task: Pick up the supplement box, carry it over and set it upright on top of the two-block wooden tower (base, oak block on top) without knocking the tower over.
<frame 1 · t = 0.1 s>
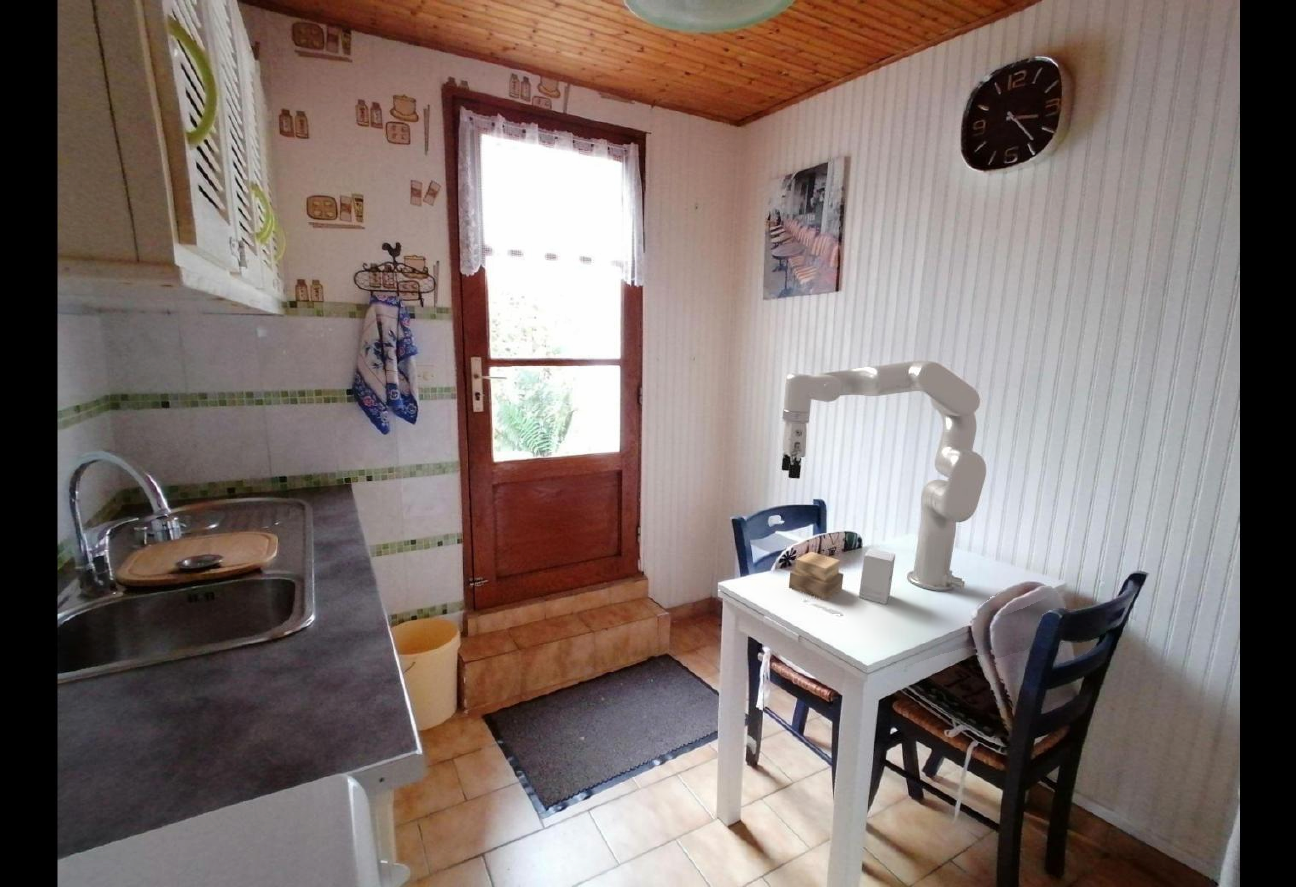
hand: (790, 474, 165), 31 cm above the table, tool pointing down, fingers open, 9 cm apart
tower top: (816, 572, 161), point 5 cm above the table, touching tower base
butter knife: (800, 601, 154), on the table
supplement box: (874, 597, 158), on the table
tower base: (815, 589, 161), on the table, touching tower top
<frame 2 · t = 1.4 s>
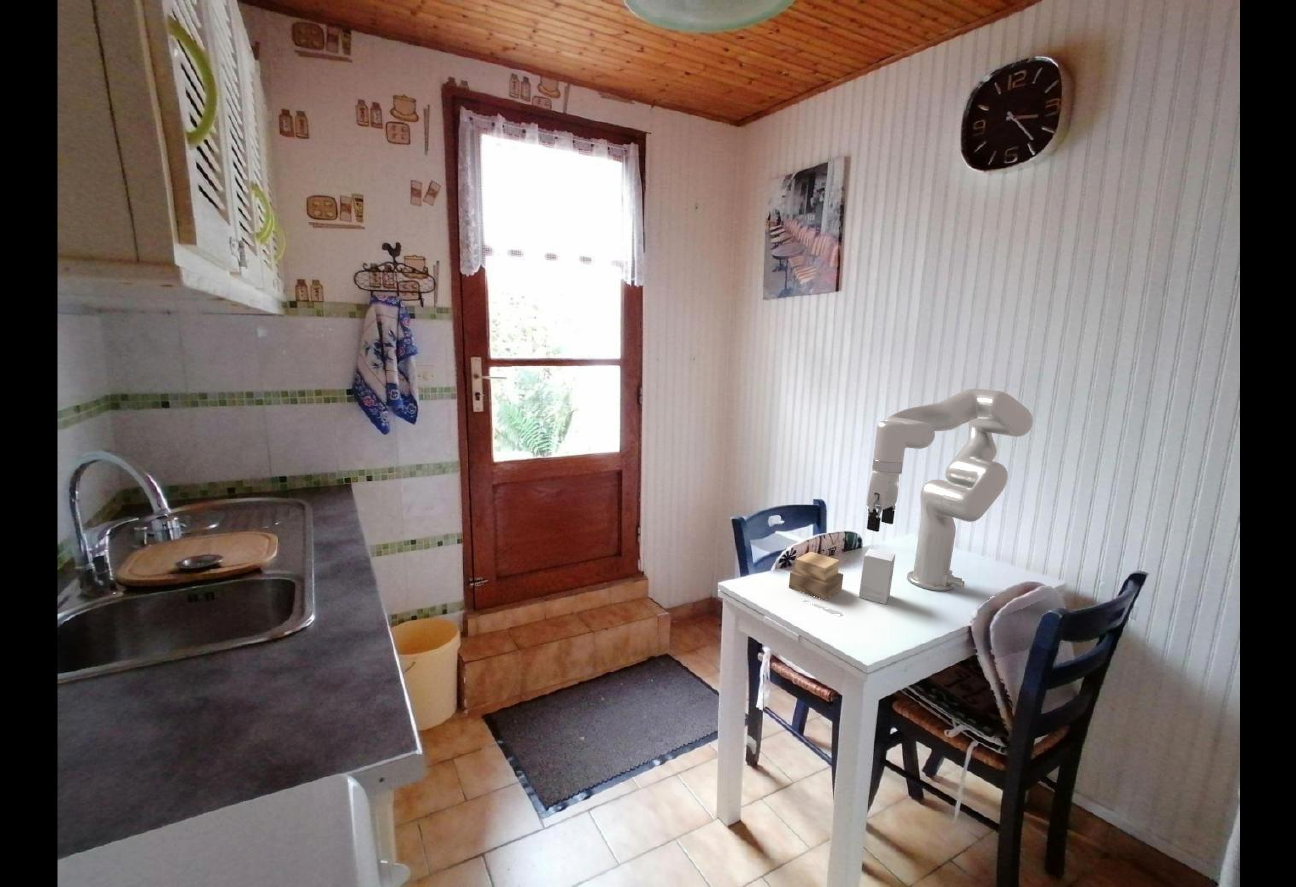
hand: (880, 526, 155), 20 cm above the table, tool pointing down, fingers open, 9 cm apart
tower top: (816, 572, 161), point 5 cm above the table
tower base: (815, 589, 161), on the table
everything else where it was.
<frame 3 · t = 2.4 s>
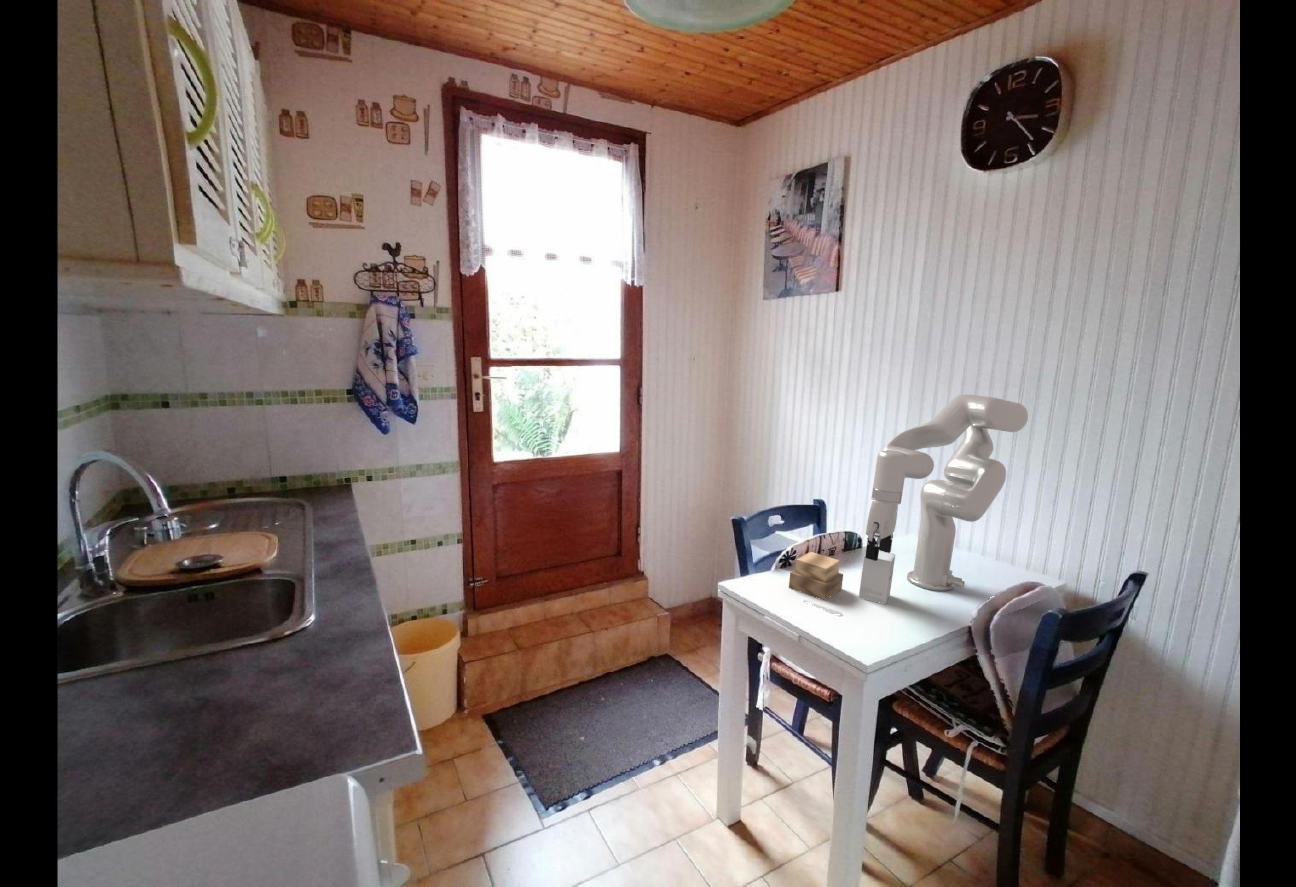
hand: (877, 555, 155), 12 cm above the table, tool pointing down, fingers open, 9 cm apart
tower top: (816, 573, 161), point 5 cm above the table, touching tower base
supplement box: (874, 597, 158), on the table, touching gripper
tower base: (815, 589, 161), on the table, touching tower top
everything else where it was.
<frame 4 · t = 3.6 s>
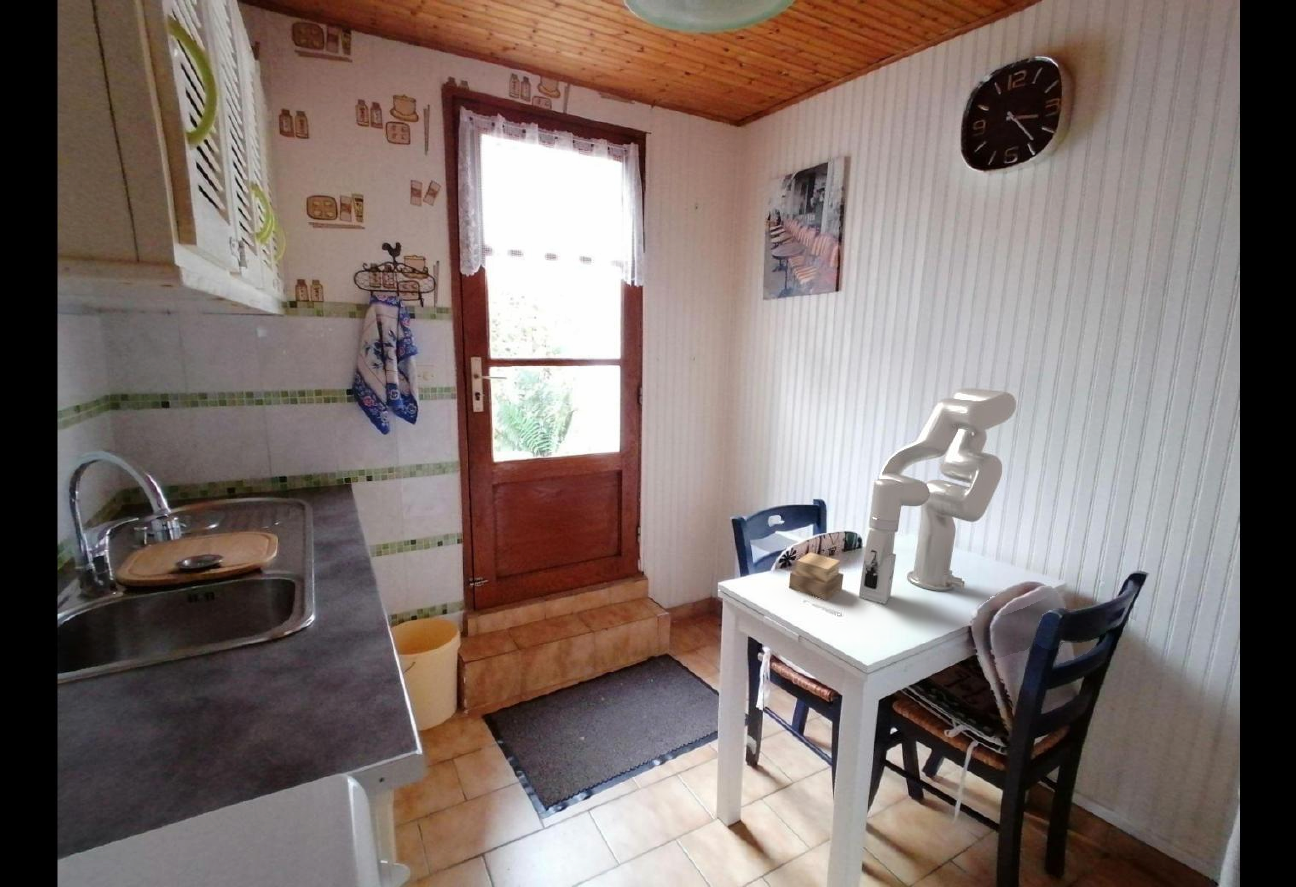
hand: (875, 582, 157), 4 cm above the table, tool pointing down, fingers closed on supplement box, 7 cm apart
supplement box: (874, 597, 158), on the table, touching gripper
everything else where it was.
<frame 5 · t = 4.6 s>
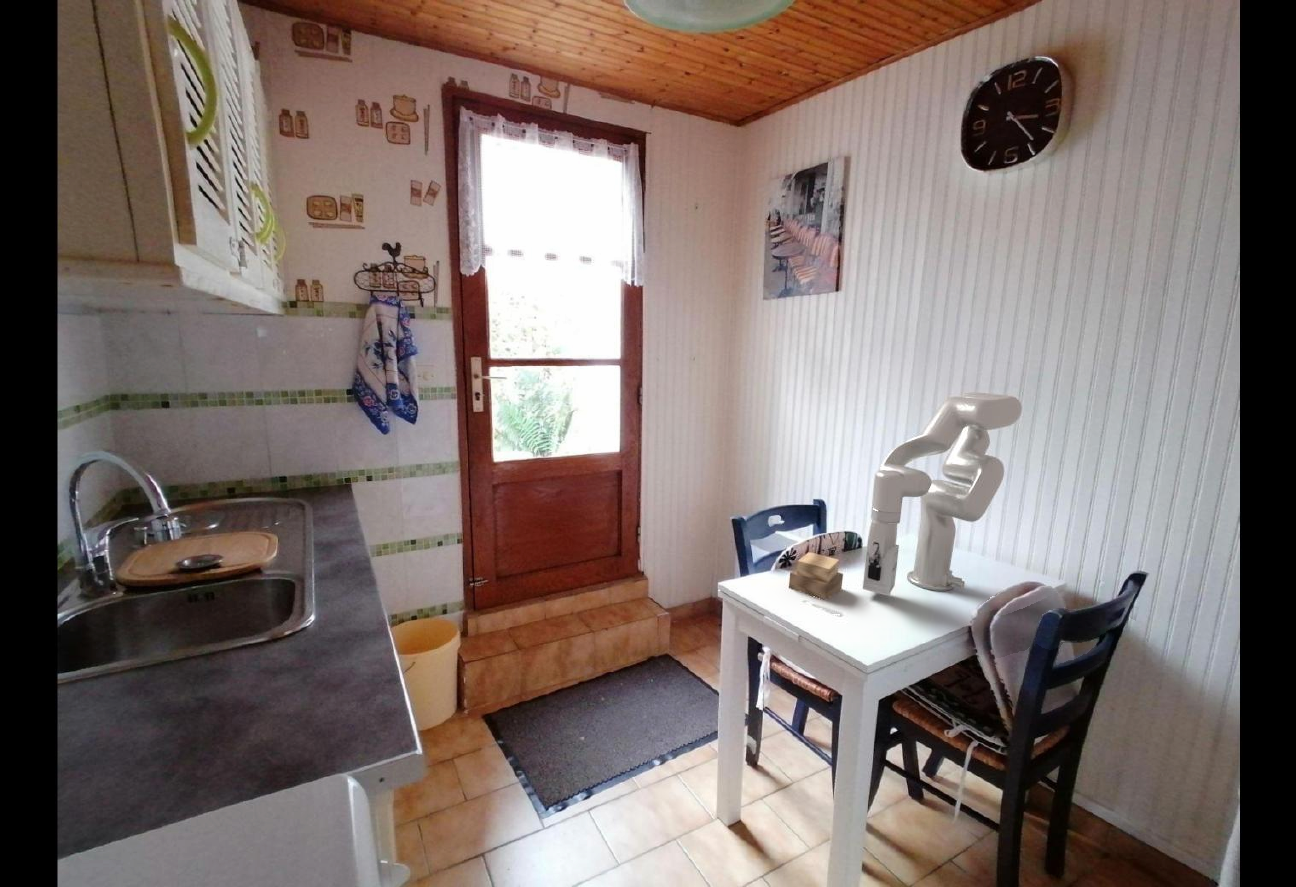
hand: (879, 574, 157), 6 cm above the table, tool pointing down, fingers closed on supplement box, 7 cm apart
supplement box: (878, 588, 158), point 2 cm above the table, touching gripper
everything else where it was.
when the fingers open (14 cm above the table, at t = 9.4 s): supplement box drops 2 cm, resting on tower top.
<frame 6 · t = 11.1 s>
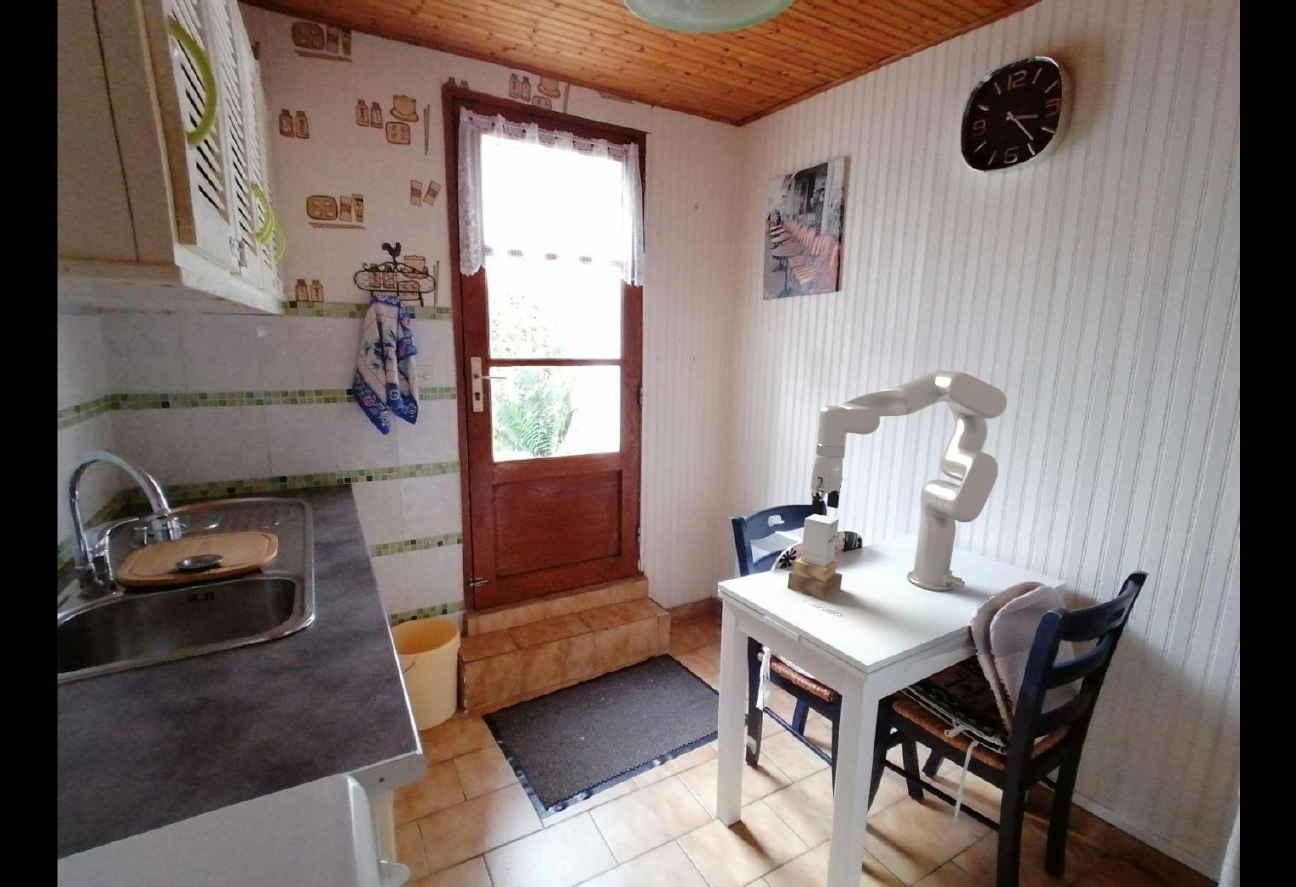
hand: (824, 510, 157), 23 cm above the table, tool pointing down, fingers open, 9 cm apart
tower top: (814, 573, 160), point 5 cm above the table, touching supplement box, tower base
supplement box: (817, 561, 159), point 8 cm above the table, touching tower top
everything else where it was.
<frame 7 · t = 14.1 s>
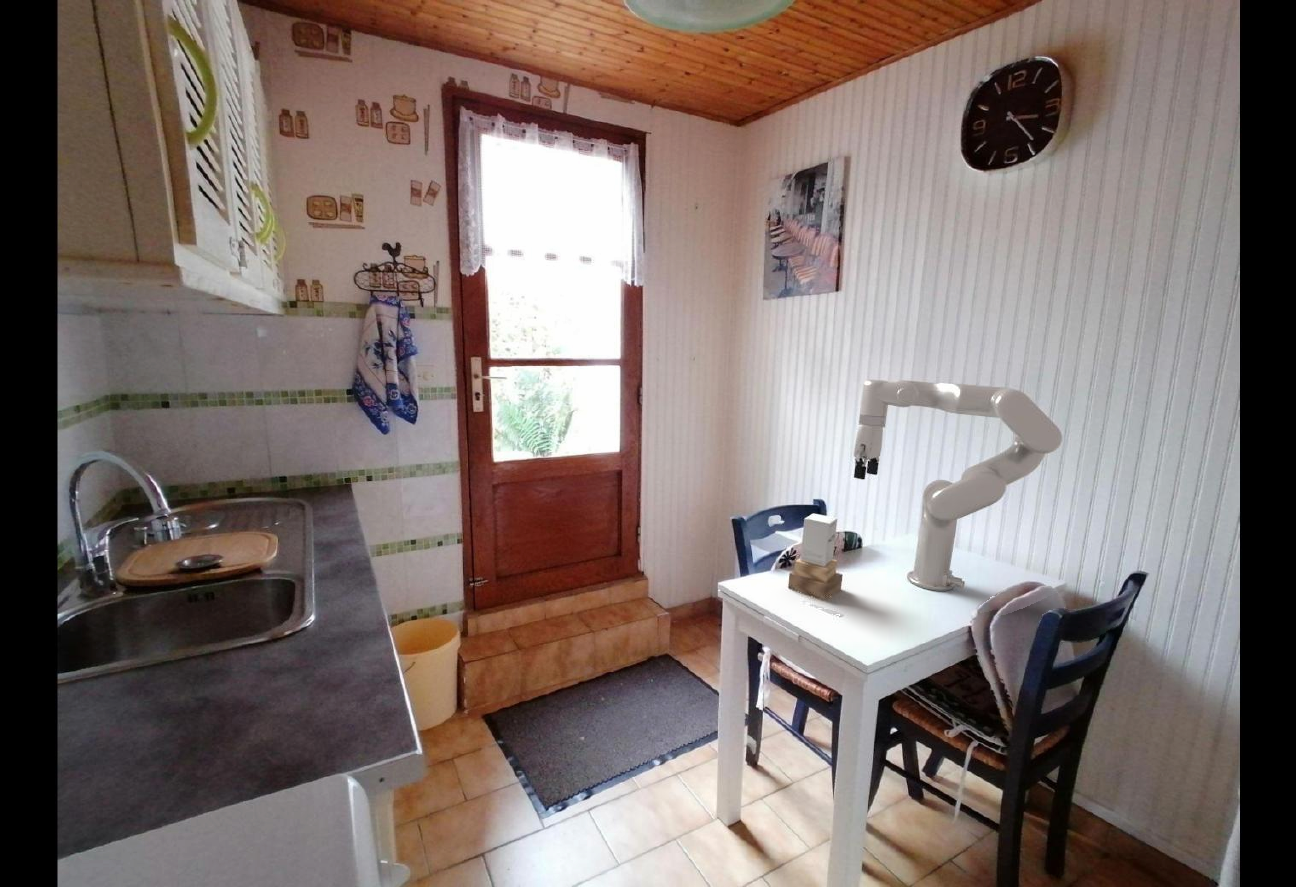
hand: (865, 476, 171), 30 cm above the table, tool pointing down, fingers open, 9 cm apart
nothing on the table moved.
at the end: supplement box inside the target area on the tower top (0.1 cm from its centre), point 3.8 cm above the tower top's base; supplement box tilted 0°; tower top moved 1.1 cm from its start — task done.
